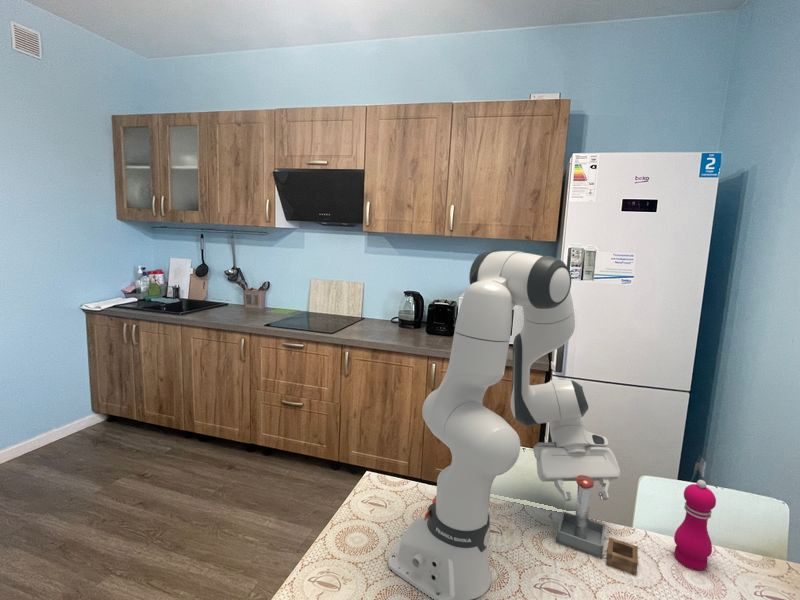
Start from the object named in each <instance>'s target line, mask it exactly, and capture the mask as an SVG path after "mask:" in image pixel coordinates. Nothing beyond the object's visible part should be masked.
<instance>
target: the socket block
mask: <svg viewBox="0 0 800 600" xmlns="http://www.w3.org/2000/svg"><path fill="white" fill-rule="evenodd" d="M606 550H607V551H606V562H605V566H608V567H611V568H614V569H617V570H620V571H622V572H625V573H628V574H630V575H634V576H637V571H638V563H639V562H638V561H639V553H638V550H639V546H637V545H634V544H631V543H627V542H626V541H622V540H619V539H616V538H612V537H610V536H609V537H608V544H607V549H606Z"/></svg>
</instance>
